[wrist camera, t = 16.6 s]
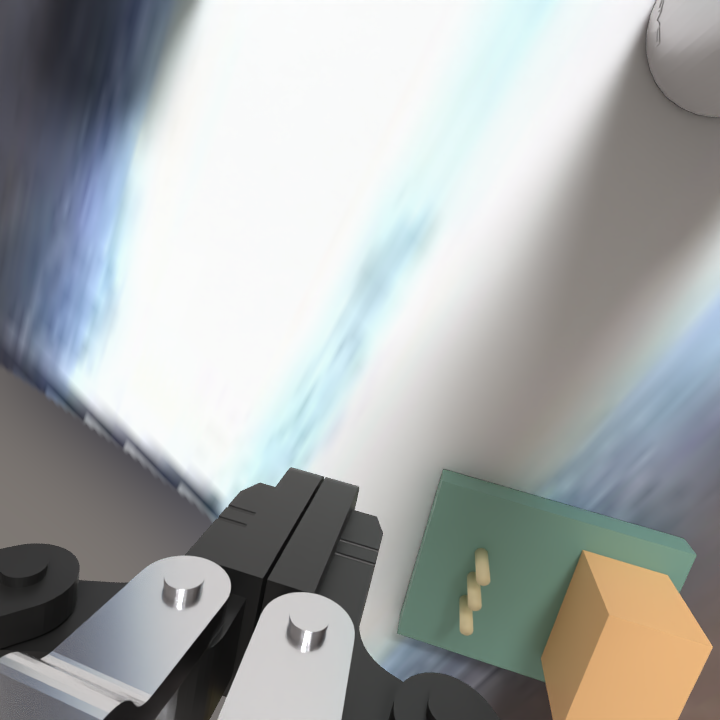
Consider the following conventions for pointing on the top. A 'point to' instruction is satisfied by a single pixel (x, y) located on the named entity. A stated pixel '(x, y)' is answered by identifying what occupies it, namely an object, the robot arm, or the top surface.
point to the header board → (513, 569)
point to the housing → (622, 645)
